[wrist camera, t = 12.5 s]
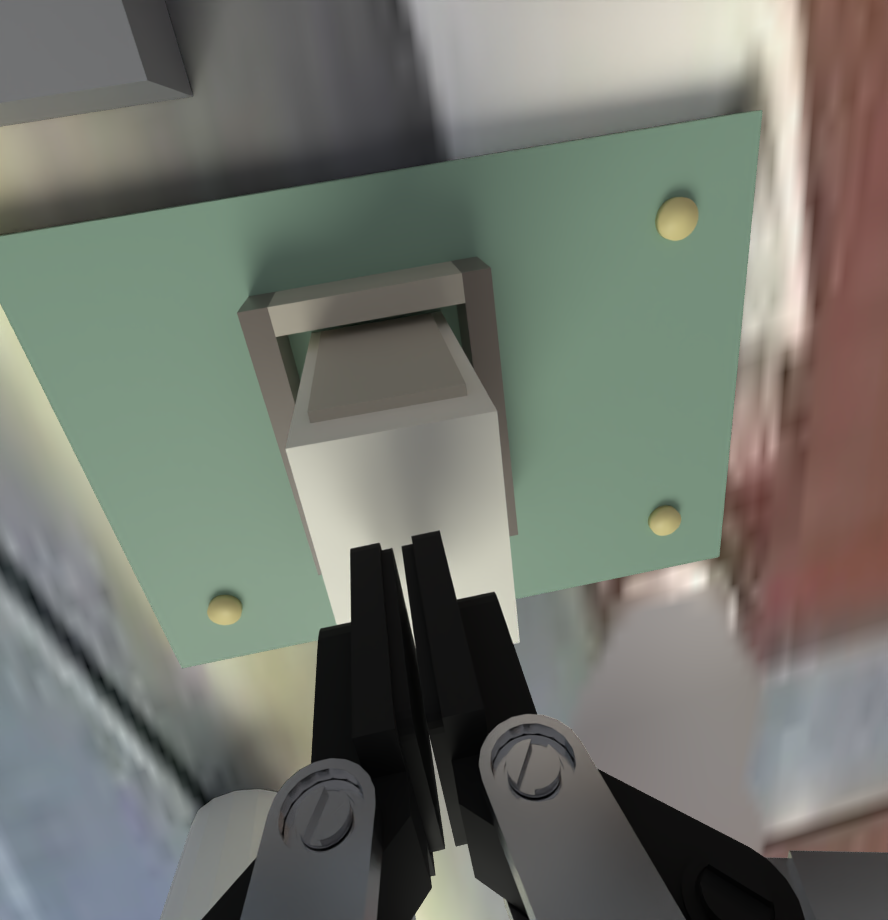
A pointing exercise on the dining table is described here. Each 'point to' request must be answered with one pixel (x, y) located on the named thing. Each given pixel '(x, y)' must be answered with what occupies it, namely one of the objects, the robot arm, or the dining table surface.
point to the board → (390, 249)
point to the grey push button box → (85, 57)
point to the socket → (367, 300)
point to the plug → (400, 456)
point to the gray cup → (217, 851)
